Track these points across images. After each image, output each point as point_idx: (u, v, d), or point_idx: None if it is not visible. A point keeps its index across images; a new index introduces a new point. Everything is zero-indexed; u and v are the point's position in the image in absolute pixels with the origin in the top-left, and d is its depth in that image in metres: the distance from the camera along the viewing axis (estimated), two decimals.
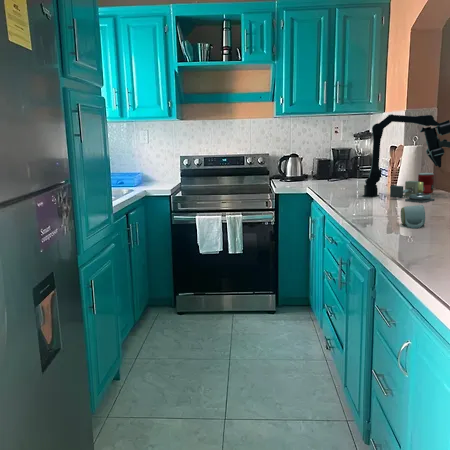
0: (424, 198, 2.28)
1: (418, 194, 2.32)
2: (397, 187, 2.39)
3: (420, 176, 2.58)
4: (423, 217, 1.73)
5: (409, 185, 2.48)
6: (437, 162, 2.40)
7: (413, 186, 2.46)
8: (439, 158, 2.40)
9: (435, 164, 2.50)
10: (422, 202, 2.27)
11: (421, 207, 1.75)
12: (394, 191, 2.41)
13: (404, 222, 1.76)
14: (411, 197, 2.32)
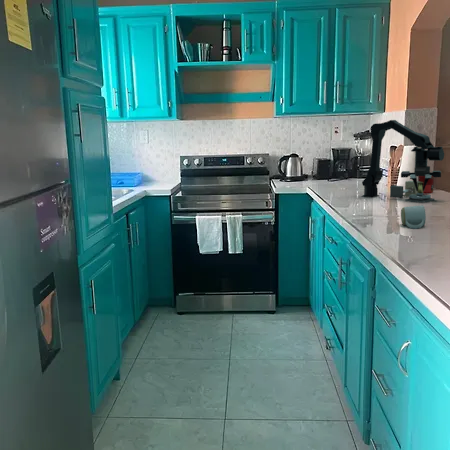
0: (424, 198, 2.28)
1: (418, 194, 2.32)
2: (397, 187, 2.39)
3: (420, 176, 2.58)
4: (423, 217, 1.72)
5: (409, 185, 2.48)
6: None
7: (413, 186, 2.46)
8: None
9: (423, 188, 2.36)
10: (422, 202, 2.27)
11: (421, 207, 1.74)
12: (394, 191, 2.41)
13: (404, 222, 1.76)
14: (411, 197, 2.32)
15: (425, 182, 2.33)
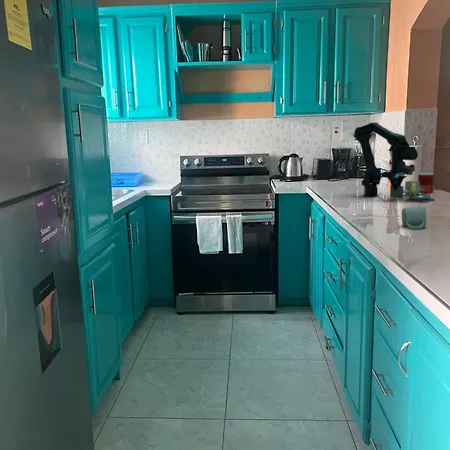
0: None
1: (422, 194, 2.32)
2: (397, 187, 2.39)
3: (420, 176, 2.58)
4: (424, 218, 1.71)
5: (409, 185, 2.48)
6: (392, 184, 2.40)
7: None
8: (394, 181, 2.38)
9: None
10: (422, 202, 2.27)
11: (422, 208, 1.72)
12: (394, 191, 2.41)
13: (405, 223, 1.74)
14: (429, 197, 2.29)
15: (401, 180, 2.40)
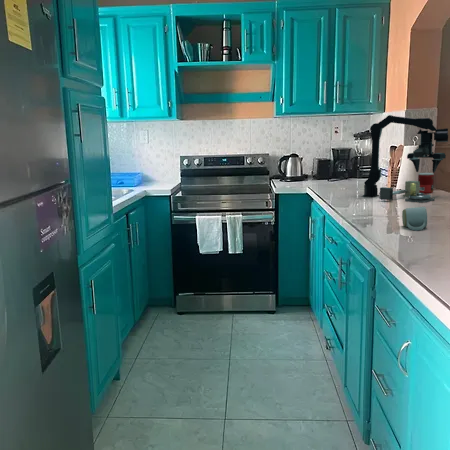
0: None
1: (422, 194, 2.32)
2: (386, 189, 2.34)
3: (420, 176, 2.58)
4: (425, 219, 1.69)
5: (409, 185, 2.48)
6: None
7: None
8: None
9: None
10: (422, 202, 2.27)
11: (423, 209, 1.71)
12: (383, 193, 2.36)
13: (405, 224, 1.72)
14: (429, 197, 2.29)
15: (433, 164, 2.38)
